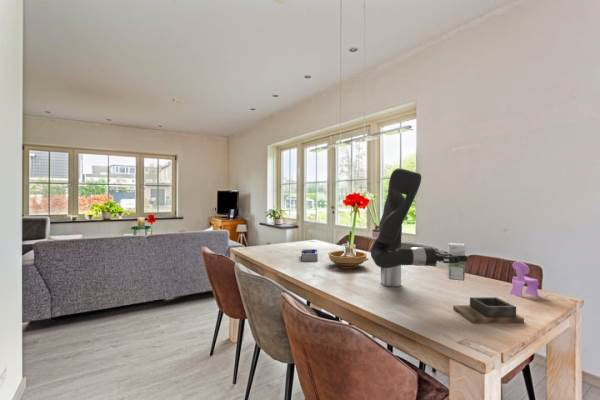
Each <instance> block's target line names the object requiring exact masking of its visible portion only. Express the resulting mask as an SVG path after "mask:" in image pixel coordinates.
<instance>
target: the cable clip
mask: <svg viewBox="0 0 600 400" xmlns="http://www.w3.org/2000/svg"><path fill="white" fill-rule="evenodd" d="M312 249H313V250H312V253H310V254H315V251H316V252H317V253H318V249H315V248H312ZM302 253H304V254H307V253H306V251H302V250H301V254H302Z"/></svg>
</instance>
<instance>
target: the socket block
mask: <svg viewBox="0 0 600 400" xmlns="http://www.w3.org/2000/svg"><path fill="white" fill-rule="evenodd" d="M452 307H453V308H452V309H453V311H455V312H456V313H458V314H460V315H461V316H462V317H463V318H465V319H466V320H468V321H470V322H471V323H472V324H511V323H512V324H517V323H520V324H523V323H525V318H524V317H522V316H520V315H519V314H517V306H515V305H513V304H511V303H509V302H507V301H505V300H503V299H501V298H498V297H495V296H491V297H489V296H488V297H484V296H483V297H482V296H481V297H469V305H465V304H464V305H463V304H461V305H458V304H457V305H453V306H452Z"/></svg>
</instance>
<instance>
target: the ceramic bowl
mask: <svg viewBox="0 0 600 400" xmlns="http://www.w3.org/2000/svg"><path fill="white" fill-rule="evenodd" d="M344 251H345V250H334V251H330V252H327V253H328V254H327V255H328V258H329V260H330V261H331V263H333V264H334V265H335V264H336V265H337V266H338V267H339V268H342V269H355V268H357V266H359V265H362V264H363V263H364V262H367V261H369V258H368V257H367V256H368V254H367V253H366V252H363V251H358V250H354V251H355V252H356V256H357V257H340V256H341V255H342V254H343V253H344Z"/></svg>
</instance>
